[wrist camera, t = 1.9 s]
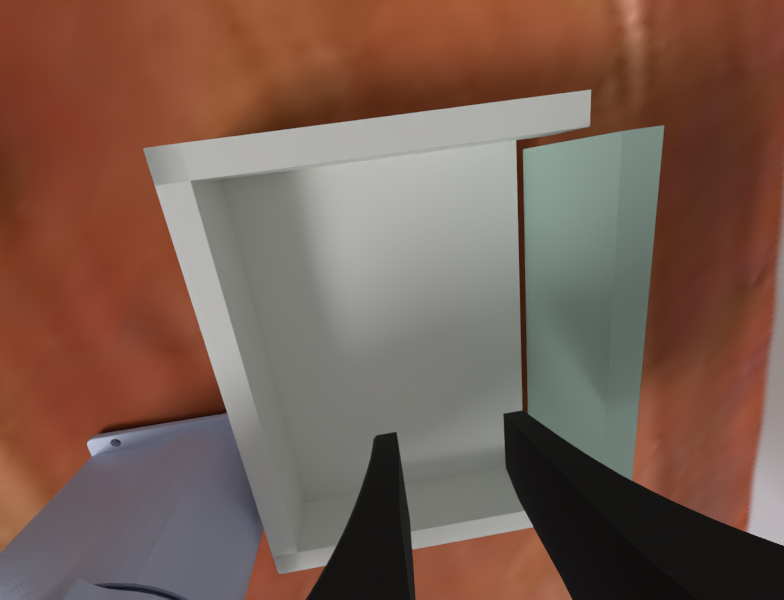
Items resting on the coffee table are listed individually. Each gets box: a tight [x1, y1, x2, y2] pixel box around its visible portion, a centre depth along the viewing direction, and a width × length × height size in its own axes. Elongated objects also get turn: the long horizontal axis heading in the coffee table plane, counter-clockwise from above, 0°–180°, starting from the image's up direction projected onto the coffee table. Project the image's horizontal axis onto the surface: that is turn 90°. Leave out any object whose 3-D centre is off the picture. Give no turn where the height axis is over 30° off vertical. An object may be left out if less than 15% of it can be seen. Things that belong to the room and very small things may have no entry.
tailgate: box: [523, 125, 664, 481], centre depth 16 cm, size 1×17×6 cm, turn 7°
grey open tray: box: [143, 90, 591, 574], centre depth 18 cm, size 16×20×4 cm
